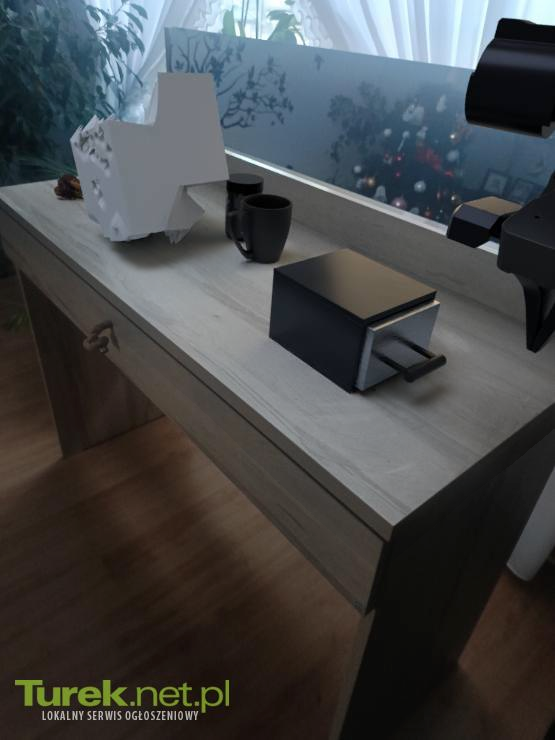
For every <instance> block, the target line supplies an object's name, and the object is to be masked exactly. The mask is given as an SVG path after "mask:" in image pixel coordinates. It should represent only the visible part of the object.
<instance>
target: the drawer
mask: <svg viewBox="0 0 555 740" xmlns="http://www.w3.org/2000/svg"><path fill="white" fill-rule="evenodd" d="M440 307H441V302H439V301H438V300H436V299H435V300H434V299H431V300H429V301H426V302H424V303H421V304H419V305H417V304H416V305H413V306H411V307H408V308H406V309H403V310H401V311H398V312H396V313H394V314H391V315H389V316H386V317H384V318H381V319H379V320H376V321H374V322H371V323H369V324H367V326H366V331H365V336H364V341H363V346H362V351H361V356H360V361H359V366H358V371H357V376H356V381H355V386H356V387H357V388H359V389H358V390H360V391H365V390H367V389H369V388H370V387H372V386H375V385H377V384H379V383H380V382H383V381H384V380H387V379H388V378H390V377H393V376H395V375H396V374H400V375H402V377H403V379H404V381H405V382H406V383H408V384H412V383H414V382H416V381H417V380H420V379H421V378H423V377H425V376H427V375H429V374H431V373H433V372H434V371H437V370H438V369H440V368H442V367H444V366H445V365H446V364H447V363H448V359H447V357H446V356H445V355H444V354H443V353H437V354H435V353H433V352H431V351H429V350H428V349H429V346H430V342H431V338H432V335H433V331H434V329H435V325H436V321H437V318H438V313H439V310H440ZM425 359H426V360H425ZM416 364H417V365H416ZM414 365H415V366H414Z"/></svg>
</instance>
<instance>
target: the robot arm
mask: <svg viewBox="0 0 555 740" xmlns="http://www.w3.org/2000/svg"><path fill="white" fill-rule="evenodd" d="M464 118H465V121H466V123H467V124H468V125H470V126H475V127H480V128H485V129H489V130H490V129H491V130H495V131H496V130H497V131H501V132H506V133H512V134H516V135H522V136H527V137H532V138H538V139H544V140H546V139H547V140H548V138H550V137H551V136H552V135H553V133H554V132H555V25H554V24H542V23H536V22H533V21H531V20H528V19H521V18H513V17H501V18H500V19H499V20H497V25H496V28H495V32H494V35H493V38H492V39H491V40H490V41H489V42H488V44H486V46H485V48H484V50H483V51H482V53H481V55H480V57H479V60H478V62H477V64H476V66H475V69H474V71H472V72H471V73H470V76H469V79H468V82H467V87H466V92H465V99H464ZM445 236H446V238H447V239H449V240H451V241H453V242H456V243H458V244H460V245H464V246H466V247H469V248H471V249H477V248H479V247H481V246H483V245H485V244H487V243H488V242H490V241H491V239H492V238H493V239H497V240H499V244H498V250H497V257H496V258H497V259H496V267H497V268H498V269H499V270H500V271H502V272H504V273H506V274H512V275H514V276H515V278H516V279H517V281H518V282H519V284H520V286H521V288H522V291H523V298H524V307H525V344H526V345H525V348H526V350H527V351H530V352H532V353H533V354H537V353H539V352H540V351H541V350H543V349H544V348H545V347H546V346H547V345H548V344H549V343H550V342H551V341H552V340H553V339H554V338H555V170H554V171H553V172H552V173H551V174H550V177H549V180H548V182H547V185H546V186H545V187H544V189H543V190H542V192H541V193H540V194H539V196H538V197H535V198H532V199H530V200H529V201H527V203H526V204H524V205H521V204H518V203H516V202H512V201H509V200H506V199H502V198H499V197H496V196H493V195H491V196H488V197H483V198H478V199H475V200H470V201H467V202H463V203H461V204H460V205H459V206H457V207H456V208H455V209H454V210H453V212H452V214H451V215H450V217H449V220H448V225H447V229H446V232H445Z"/></svg>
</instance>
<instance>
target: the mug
mask: <svg viewBox="0 0 555 740" xmlns="http://www.w3.org/2000/svg"><path fill="white" fill-rule="evenodd" d="M293 204H294V203H293V202H292V200H291V199H289V198H287V197H284V196H282V195H277V194H271V193H270V194H269V193H263V194H254V195H248V196H246V197H244V198H243V199H242V208H241V210H240V211H232V212H229V213H227V214H226V217H225V216H224V225H225V224H226V227H227V230H228V232H229V234H230V236H231V238H232V239H233V240H232V239H231V240H232V241H233V243H234V245H235V247H236V248H237V250H238V251H239V253H240V254H241V255H242V257H243V258H244V259H246V260H250V261H252V262H255V263H258V264H273V263H277V262H278V261H280V259H281V258H282V257H281V256H282V254H283V250H284V249H285V246H286V244H287V240H288V237H289V234H290V229H291V224H292V218H293V217H292V215H293V206H294V205H293ZM239 214H241V222H242V231H243V237H244V242H243V243H244V246H245V248H244V247H243V246H242V244H241V242H239V241H238V239H237V237H236V235H235V233H234V230H233V227H232V219H233V217H234V216H235V215H239Z"/></svg>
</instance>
